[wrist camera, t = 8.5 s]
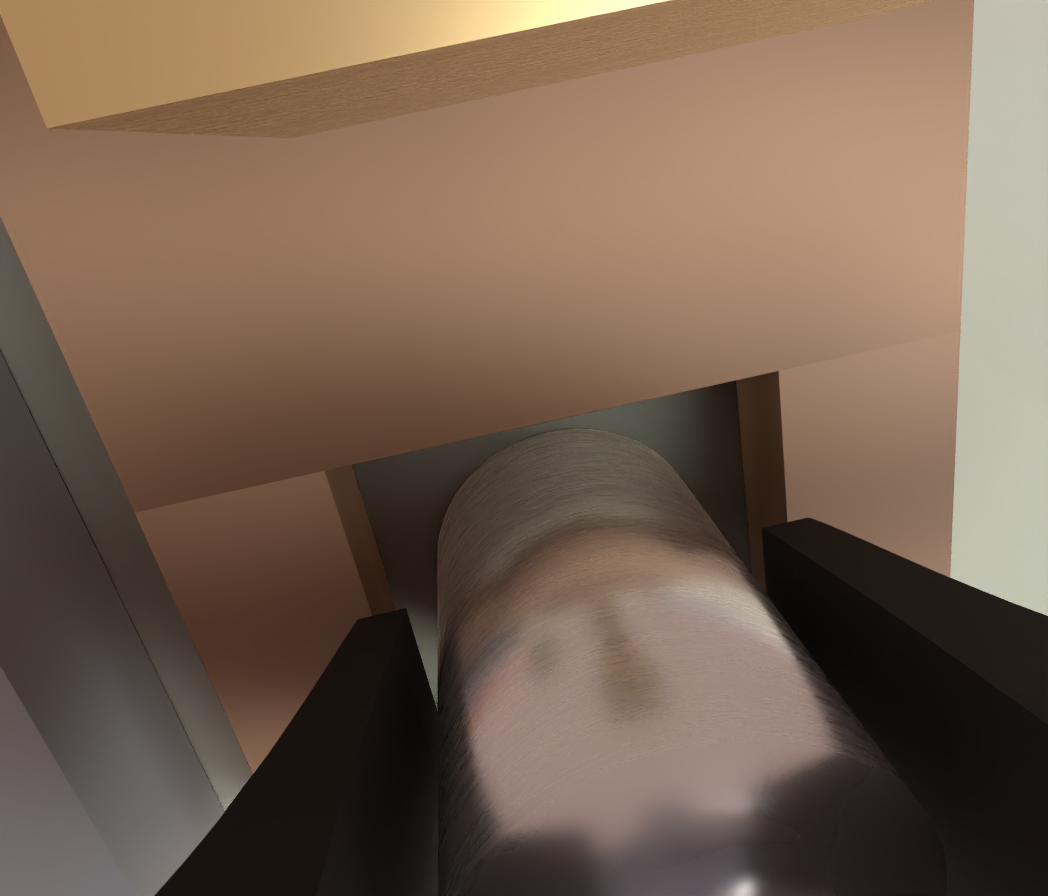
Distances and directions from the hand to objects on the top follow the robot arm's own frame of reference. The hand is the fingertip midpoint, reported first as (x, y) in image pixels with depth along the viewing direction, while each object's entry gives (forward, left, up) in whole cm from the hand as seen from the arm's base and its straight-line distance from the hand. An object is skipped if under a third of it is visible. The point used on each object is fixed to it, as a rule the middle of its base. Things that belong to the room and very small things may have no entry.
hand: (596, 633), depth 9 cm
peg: (0, 0, -2) cm, 2 cm away
